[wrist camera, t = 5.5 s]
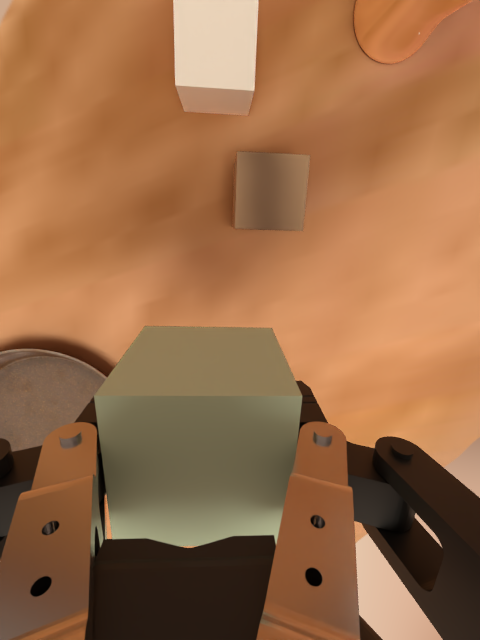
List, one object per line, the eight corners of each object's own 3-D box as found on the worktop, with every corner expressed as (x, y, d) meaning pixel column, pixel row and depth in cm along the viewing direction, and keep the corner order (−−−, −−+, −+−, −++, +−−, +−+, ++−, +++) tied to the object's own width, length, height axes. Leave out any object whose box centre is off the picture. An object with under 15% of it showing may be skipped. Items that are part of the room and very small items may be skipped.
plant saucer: (-72, 370, 30) (-104, 386, 27) (100, 313, 29) (86, 324, 26) (24, 502, 35) (6, 527, 32) (170, 457, 34) (165, 479, 31)
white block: (251, 38, 23) (258, -10, 18) (248, 116, 24) (254, 90, 20) (183, 32, 22) (173, -18, 18) (184, 112, 24) (175, 85, 19)
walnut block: (293, 167, 26) (310, 154, 21) (288, 229, 27) (303, 231, 22) (234, 164, 25) (237, 151, 21) (232, 227, 27) (234, 228, 22)
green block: (271, 327, 12) (302, 396, 8) (264, 432, 14) (286, 543, 9) (145, 325, 12) (94, 395, 7) (151, 433, 14) (113, 548, 9)
